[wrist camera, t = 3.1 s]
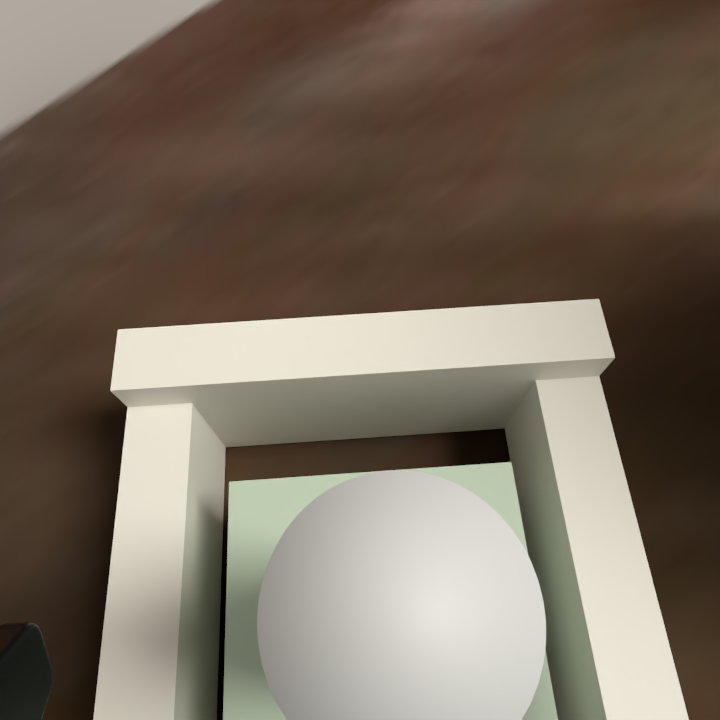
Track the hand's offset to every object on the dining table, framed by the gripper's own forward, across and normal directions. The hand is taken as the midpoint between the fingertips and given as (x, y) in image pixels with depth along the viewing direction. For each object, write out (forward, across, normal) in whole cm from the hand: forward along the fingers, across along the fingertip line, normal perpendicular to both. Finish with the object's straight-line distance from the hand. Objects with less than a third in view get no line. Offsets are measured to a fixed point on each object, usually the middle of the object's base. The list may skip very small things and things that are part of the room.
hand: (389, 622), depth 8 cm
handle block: (+6, 0, +6) cm, 8 cm away
